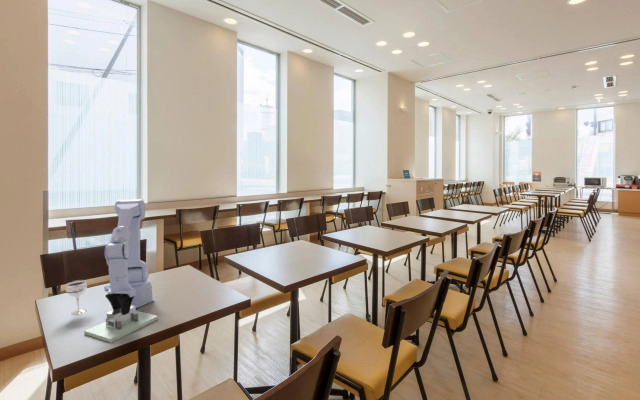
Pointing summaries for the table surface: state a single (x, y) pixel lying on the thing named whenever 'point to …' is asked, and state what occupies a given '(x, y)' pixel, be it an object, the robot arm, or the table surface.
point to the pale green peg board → (120, 327)
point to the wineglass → (76, 292)
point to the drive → (120, 317)
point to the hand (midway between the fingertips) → (121, 312)
